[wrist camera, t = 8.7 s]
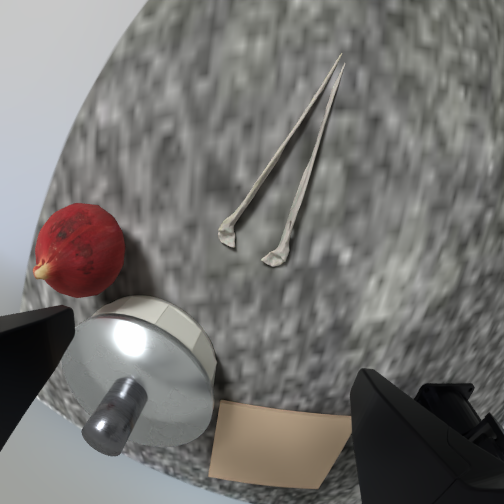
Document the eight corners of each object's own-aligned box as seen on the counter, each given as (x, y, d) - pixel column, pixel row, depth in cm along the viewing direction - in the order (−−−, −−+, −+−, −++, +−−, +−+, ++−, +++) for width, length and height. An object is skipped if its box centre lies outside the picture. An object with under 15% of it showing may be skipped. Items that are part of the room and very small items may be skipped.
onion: (94, 182, 20) (18, 194, 13) (156, 224, 21) (96, 256, 13) (67, 249, 22) (-2, 282, 14) (124, 290, 22) (66, 342, 14)
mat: (357, 416, 24) (358, 419, 23) (317, 486, 27) (317, 489, 27) (220, 399, 24) (220, 402, 24) (208, 473, 27) (208, 476, 27)
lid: (224, 337, 18) (205, 402, 12) (206, 453, 21) (193, 511, 15) (59, 294, 18) (5, 332, 13) (77, 413, 21) (46, 457, 16)
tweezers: (279, 267, 22) (281, 275, 20) (216, 237, 21) (211, 242, 19) (380, 53, 18) (389, 43, 16) (322, 24, 18) (326, 11, 16)
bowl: (225, 311, 22) (215, 340, 18) (210, 415, 25) (201, 448, 21) (92, 281, 22) (64, 300, 18) (100, 384, 25) (80, 410, 21)
